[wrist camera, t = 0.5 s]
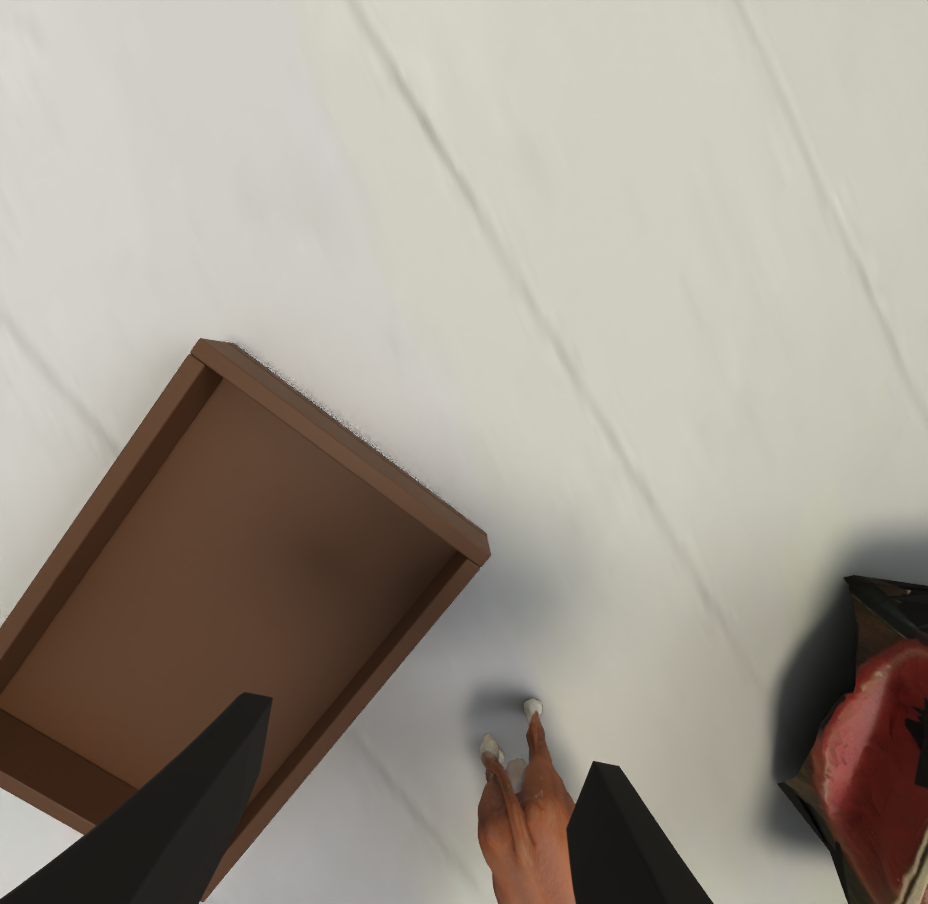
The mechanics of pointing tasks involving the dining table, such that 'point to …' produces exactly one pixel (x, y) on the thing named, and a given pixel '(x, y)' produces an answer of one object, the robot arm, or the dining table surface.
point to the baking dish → (876, 753)
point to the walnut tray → (221, 596)
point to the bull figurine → (526, 822)
